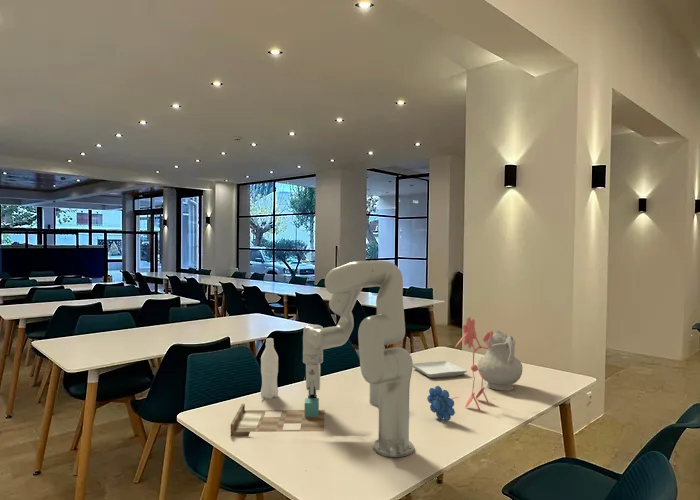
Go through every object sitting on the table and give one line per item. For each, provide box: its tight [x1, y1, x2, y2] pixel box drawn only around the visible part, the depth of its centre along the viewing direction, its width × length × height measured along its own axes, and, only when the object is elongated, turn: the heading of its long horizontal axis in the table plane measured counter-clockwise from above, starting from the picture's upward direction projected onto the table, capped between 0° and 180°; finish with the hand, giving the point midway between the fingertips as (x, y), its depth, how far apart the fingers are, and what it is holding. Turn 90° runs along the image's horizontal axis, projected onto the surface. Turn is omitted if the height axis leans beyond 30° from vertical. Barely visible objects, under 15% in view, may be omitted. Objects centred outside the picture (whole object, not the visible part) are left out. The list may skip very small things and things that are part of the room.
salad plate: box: [412, 360, 468, 379], centre depth 236 cm, size 21×21×3 cm
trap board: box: [230, 403, 326, 437], centre depth 167 cm, size 20×31×4 cm, turn 92°
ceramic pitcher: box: [477, 330, 523, 392], centre depth 211 cm, size 22×20×25 cm
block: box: [304, 397, 320, 417], centre depth 173 cm, size 5×5×5 cm
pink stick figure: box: [452, 316, 495, 410], centre depth 191 cm, size 15×26×35 cm, turn 142°
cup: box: [369, 383, 381, 407], centre depth 190 cm, size 8×8×12 cm
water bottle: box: [260, 337, 279, 401], centre depth 193 cm, size 7×7×25 cm
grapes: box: [426, 385, 456, 422], centre depth 172 cm, size 12×7×12 cm, turn 46°
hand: (312, 406), depth 178 cm, fingers closed
